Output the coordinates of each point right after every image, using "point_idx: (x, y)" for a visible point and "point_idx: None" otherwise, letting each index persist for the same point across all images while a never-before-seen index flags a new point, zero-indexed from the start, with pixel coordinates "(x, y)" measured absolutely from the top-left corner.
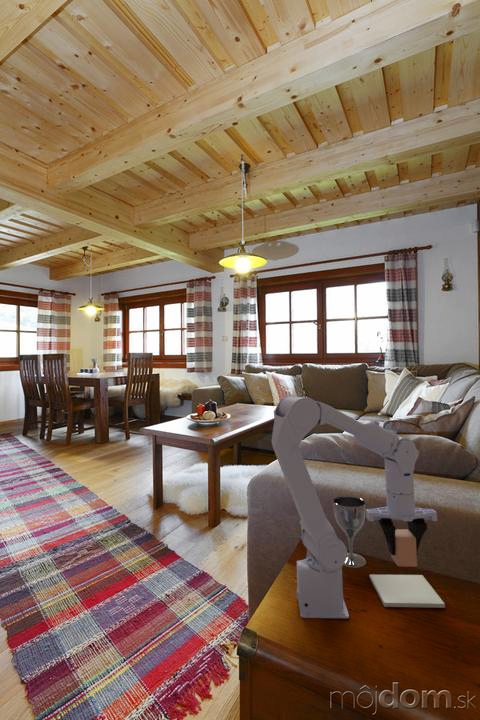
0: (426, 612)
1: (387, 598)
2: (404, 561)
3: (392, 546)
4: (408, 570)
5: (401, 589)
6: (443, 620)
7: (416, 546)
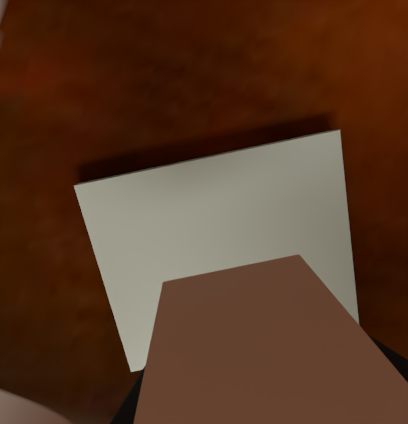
0: (161, 132)
1: (318, 165)
2: (257, 279)
3: (404, 365)
4: None
5: (241, 247)
6: (101, 93)
7: (133, 420)
